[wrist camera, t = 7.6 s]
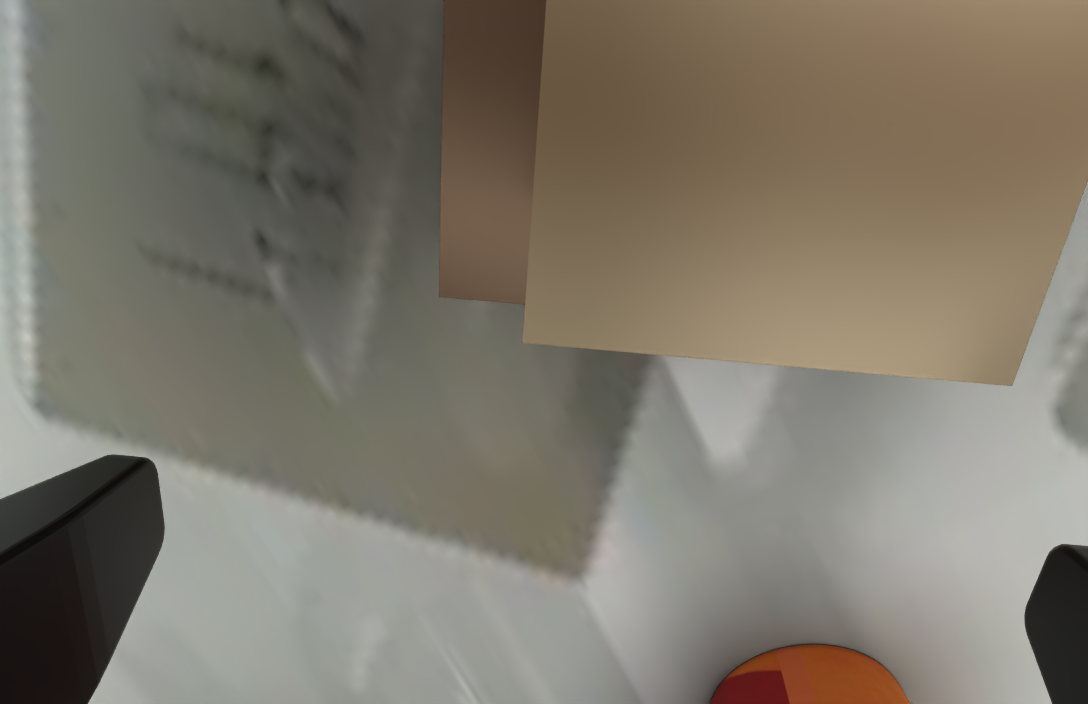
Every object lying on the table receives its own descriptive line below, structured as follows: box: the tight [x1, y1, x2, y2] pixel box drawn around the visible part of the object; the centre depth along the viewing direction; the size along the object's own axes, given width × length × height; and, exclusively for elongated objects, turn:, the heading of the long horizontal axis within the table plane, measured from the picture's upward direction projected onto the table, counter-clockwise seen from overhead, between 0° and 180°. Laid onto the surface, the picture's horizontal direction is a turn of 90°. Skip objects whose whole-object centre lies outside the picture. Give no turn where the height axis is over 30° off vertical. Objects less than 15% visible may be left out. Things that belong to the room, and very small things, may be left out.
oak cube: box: [522, 0, 1088, 386], centre depth 12 cm, size 6×6×6 cm
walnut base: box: [439, 0, 546, 304], centre depth 16 cm, size 10×10×3 cm
